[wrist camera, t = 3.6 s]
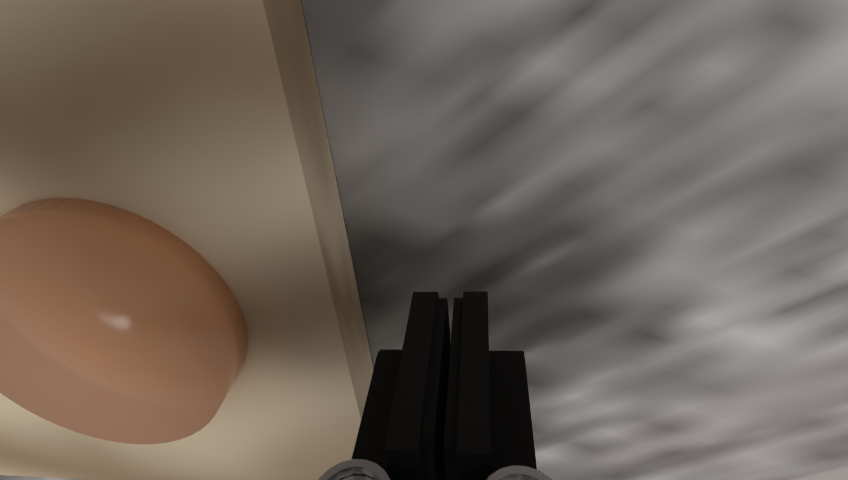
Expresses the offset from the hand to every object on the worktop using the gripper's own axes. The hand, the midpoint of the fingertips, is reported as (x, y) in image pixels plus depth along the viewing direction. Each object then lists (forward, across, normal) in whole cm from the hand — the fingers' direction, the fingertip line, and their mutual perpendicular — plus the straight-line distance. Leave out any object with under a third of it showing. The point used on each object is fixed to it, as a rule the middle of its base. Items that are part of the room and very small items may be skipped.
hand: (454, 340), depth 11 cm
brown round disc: (+1, +9, 0) cm, 9 cm away
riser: (+3, +12, 0) cm, 12 cm away
